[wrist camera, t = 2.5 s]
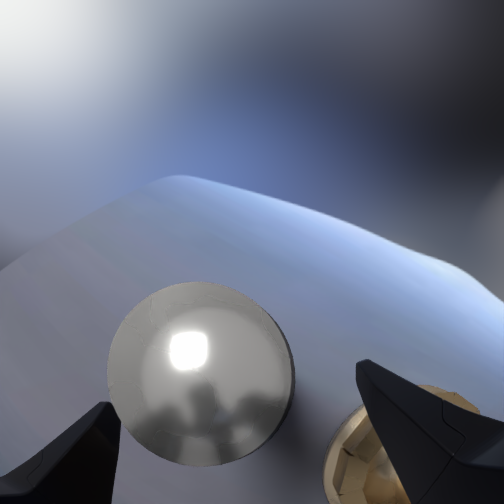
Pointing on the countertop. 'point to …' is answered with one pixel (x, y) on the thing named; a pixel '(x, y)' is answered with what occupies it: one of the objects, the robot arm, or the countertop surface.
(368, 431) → the ring collar
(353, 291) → the countertop surface
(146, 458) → the countertop surface
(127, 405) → the cylinder
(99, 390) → the countertop surface
